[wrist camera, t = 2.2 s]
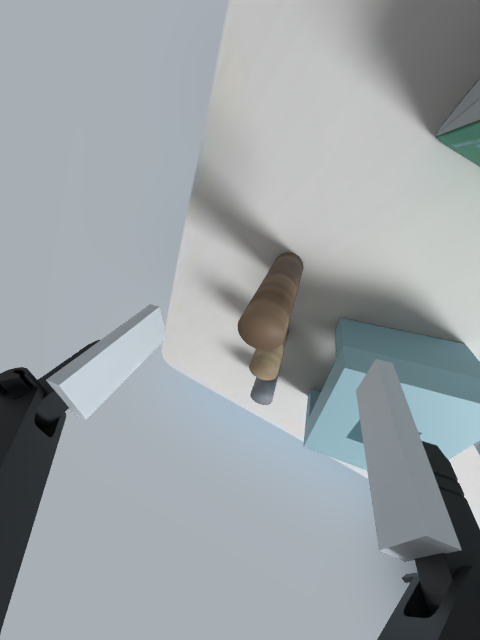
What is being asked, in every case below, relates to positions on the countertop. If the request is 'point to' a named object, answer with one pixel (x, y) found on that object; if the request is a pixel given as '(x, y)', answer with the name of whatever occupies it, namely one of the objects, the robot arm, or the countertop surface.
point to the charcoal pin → (263, 391)
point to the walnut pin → (272, 304)
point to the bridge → (417, 384)
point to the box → (464, 126)
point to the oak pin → (267, 362)
